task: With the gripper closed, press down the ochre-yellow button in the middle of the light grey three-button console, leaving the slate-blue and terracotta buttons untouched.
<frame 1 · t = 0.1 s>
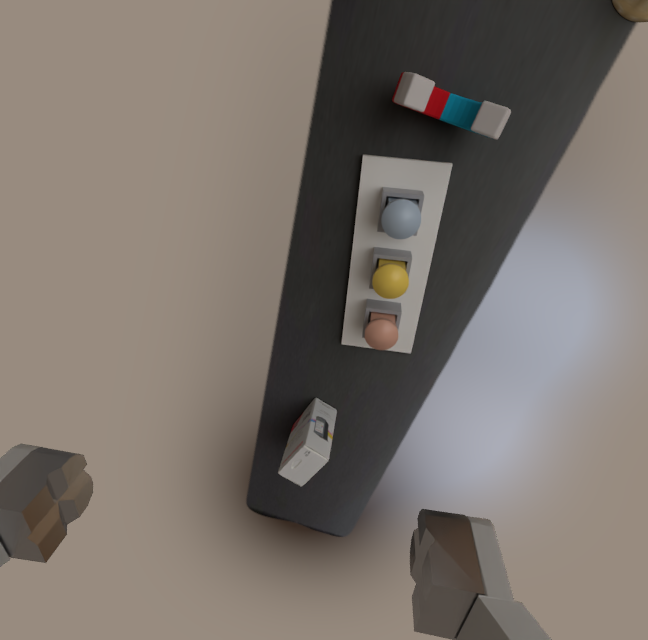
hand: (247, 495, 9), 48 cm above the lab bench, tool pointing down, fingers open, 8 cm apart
ink box: (314, 415, 72), on the lab bench
terracotta button: (381, 327, 56), point 5 cm above the lab bench, slide at 0.0 cm
console: (389, 263, 56), on the lab bench
slate button: (400, 215, 48), point 5 cm above the lab bench, slide at 0.0 cm
ochre button: (390, 275, 52), point 5 cm above the lab bench, slide at 0.0 cm
magnet: (441, 106, 46), on the lab bench
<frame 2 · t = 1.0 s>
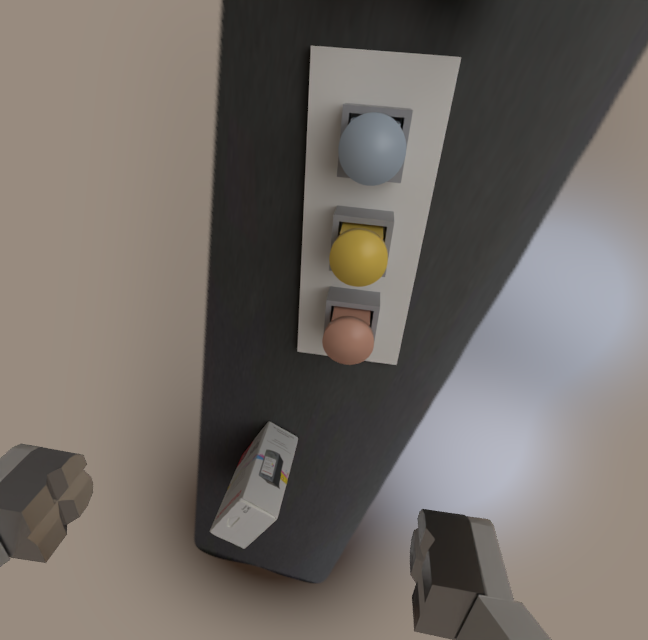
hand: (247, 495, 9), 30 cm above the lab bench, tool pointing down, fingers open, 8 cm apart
ink box: (269, 443, 54), on the lab bench
terracotta button: (349, 330, 37), point 5 cm above the lab bench, slide at 0.0 cm
console: (362, 232, 37), on the lab bench
slate button: (372, 146, 29), point 5 cm above the lab bench, slide at 0.0 cm
ochre button: (359, 250, 33), point 5 cm above the lab bench, slide at 0.0 cm
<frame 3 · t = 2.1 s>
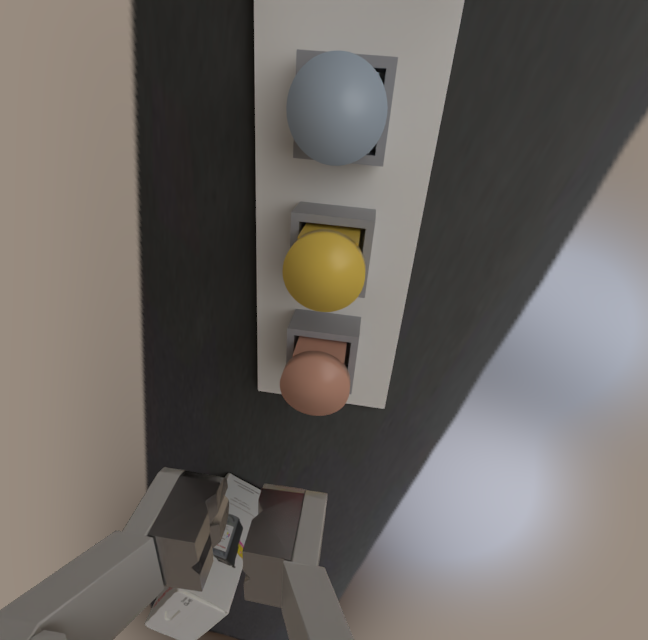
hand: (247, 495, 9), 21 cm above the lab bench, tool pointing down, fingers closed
ink box: (231, 498, 44), on the lab bench
terracotta button: (319, 368, 28), point 5 cm above the lab bench, slide at 0.0 cm
console: (335, 237, 28), on the lab bench
slate button: (340, 111, 20), point 5 cm above the lab bench, slide at 0.0 cm
ochre button: (328, 261, 24), point 5 cm above the lab bench, slide at 0.0 cm
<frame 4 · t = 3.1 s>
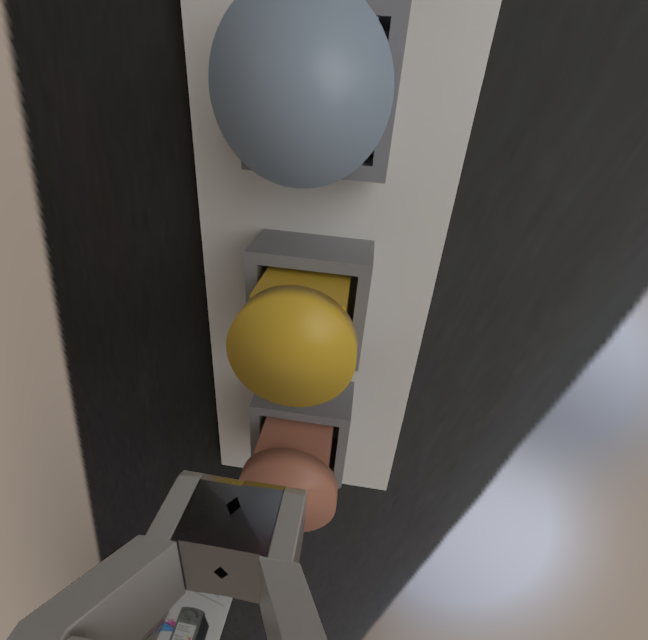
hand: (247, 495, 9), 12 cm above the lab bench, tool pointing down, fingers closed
ink box: (200, 571, 36), on the lab bench
terracotta button: (294, 461, 20), point 5 cm above the lab bench, slide at 0.0 cm
console: (318, 276, 20), on the lab bench
slate button: (313, 92, 12), point 5 cm above the lab bench, slide at 0.0 cm
ochre button: (301, 324, 16), point 5 cm above the lab bench, slide at 0.0 cm
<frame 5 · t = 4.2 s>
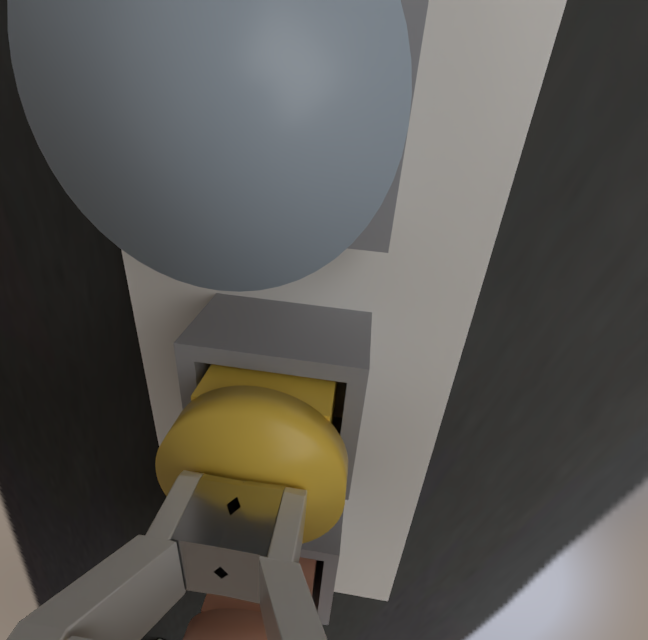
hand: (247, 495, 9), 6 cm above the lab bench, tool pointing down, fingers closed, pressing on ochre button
terracotta button: (263, 603, 14), point 5 cm above the lab bench, slide at 0.0 cm
console: (296, 350, 14), on the lab bench
slate button: (259, 106, 6), point 5 cm above the lab bench, slide at 0.0 cm
ochre button: (271, 421, 11), point 4 cm above the lab bench, slide at 1.0 cm, touching gripper
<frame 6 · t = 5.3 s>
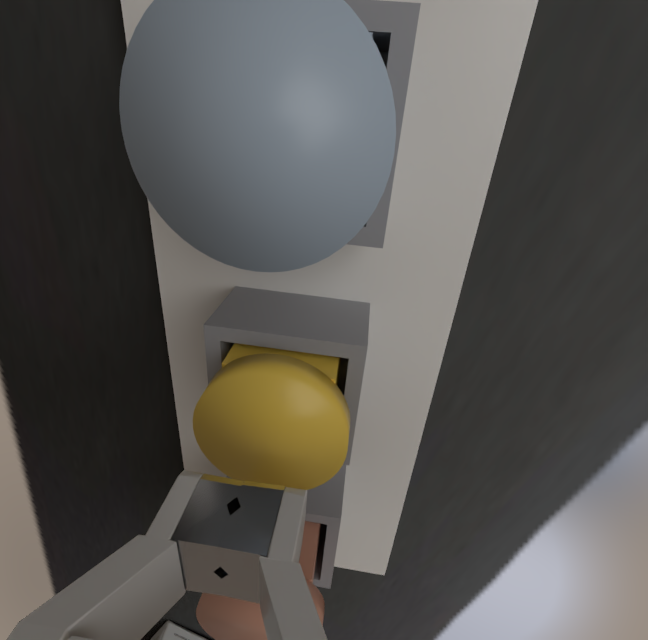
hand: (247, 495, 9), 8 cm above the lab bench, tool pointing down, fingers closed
terracotta button: (272, 563, 16), point 5 cm above the lab bench, slide at 0.0 cm
console: (303, 338, 16), on the lab bench
slate button: (283, 133, 8), point 5 cm above the lab bench, slide at 0.0 cm
ochre button: (285, 390, 13), point 3 cm above the lab bench, slide at 1.3 cm
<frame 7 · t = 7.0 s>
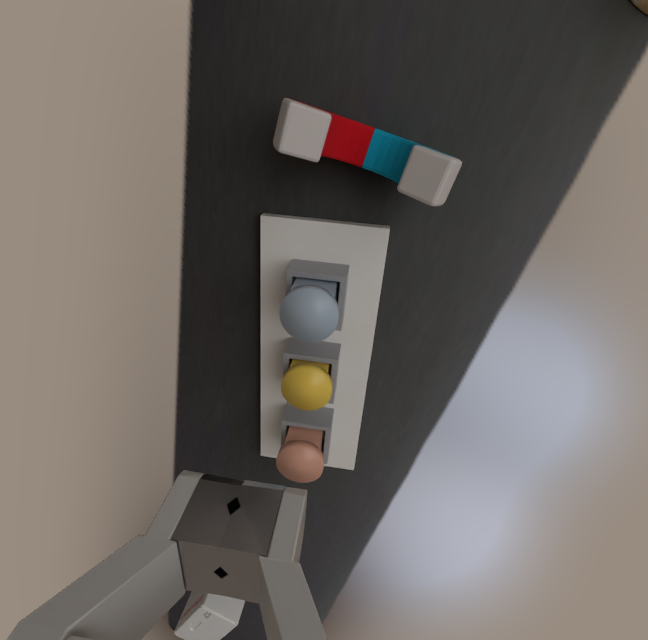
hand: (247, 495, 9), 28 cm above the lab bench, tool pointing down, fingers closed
ink box: (239, 533, 55), on the lab bench
terracotta button: (303, 448, 40), point 5 cm above the lab bench, slide at 0.0 cm
console: (315, 356, 40), on the lab bench
slate button: (313, 304, 32), point 5 cm above the lab bench, slide at 0.0 cm
ochre button: (310, 375, 37), point 3 cm above the lab bench, slide at 1.3 cm
magnet: (369, 146, 31), on the lab bench
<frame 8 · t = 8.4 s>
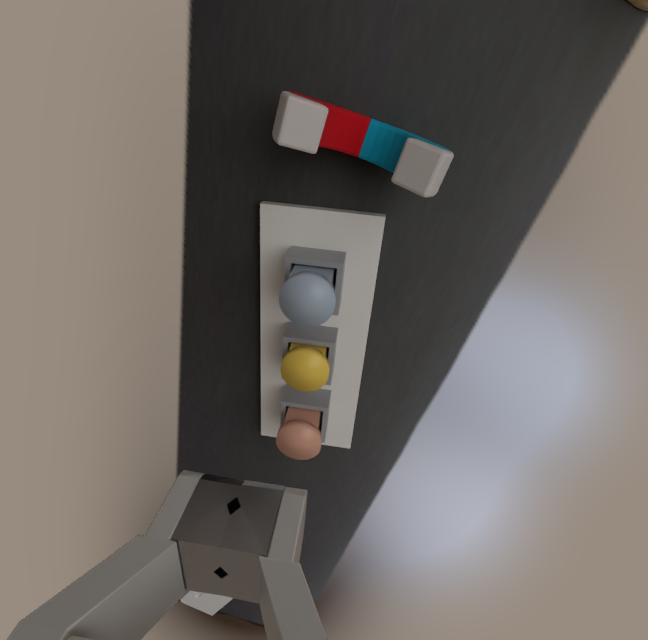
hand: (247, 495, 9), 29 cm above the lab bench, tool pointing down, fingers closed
ink box: (240, 508, 58), on the lab bench
terracotta button: (302, 427, 41), point 5 cm above the lab bench, slide at 0.0 cm
console: (313, 340, 42), on the lab bench
slate button: (311, 290, 34), point 5 cm above the lab bench, slide at 0.0 cm
ochre button: (308, 358, 39), point 3 cm above the lab bench, slide at 1.3 cm
magnet: (365, 136, 32), on the lab bench
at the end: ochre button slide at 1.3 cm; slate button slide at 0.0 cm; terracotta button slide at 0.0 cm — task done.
